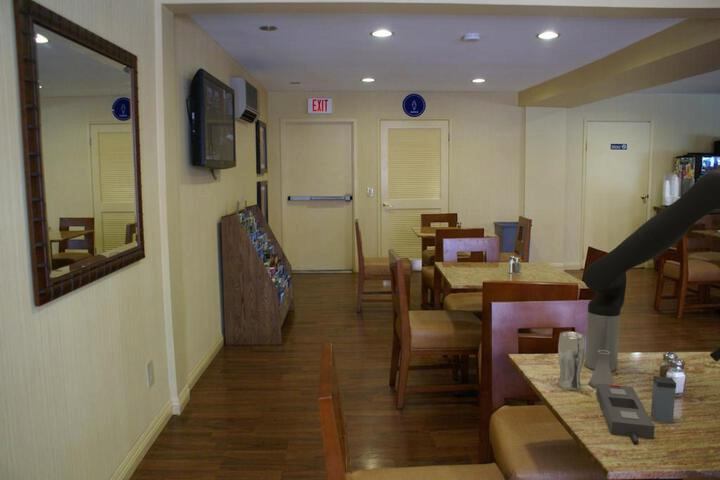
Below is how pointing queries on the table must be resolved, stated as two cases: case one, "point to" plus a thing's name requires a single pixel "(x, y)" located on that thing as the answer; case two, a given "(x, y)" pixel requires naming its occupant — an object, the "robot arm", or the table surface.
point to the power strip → (624, 411)
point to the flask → (602, 370)
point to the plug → (663, 399)
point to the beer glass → (570, 359)
